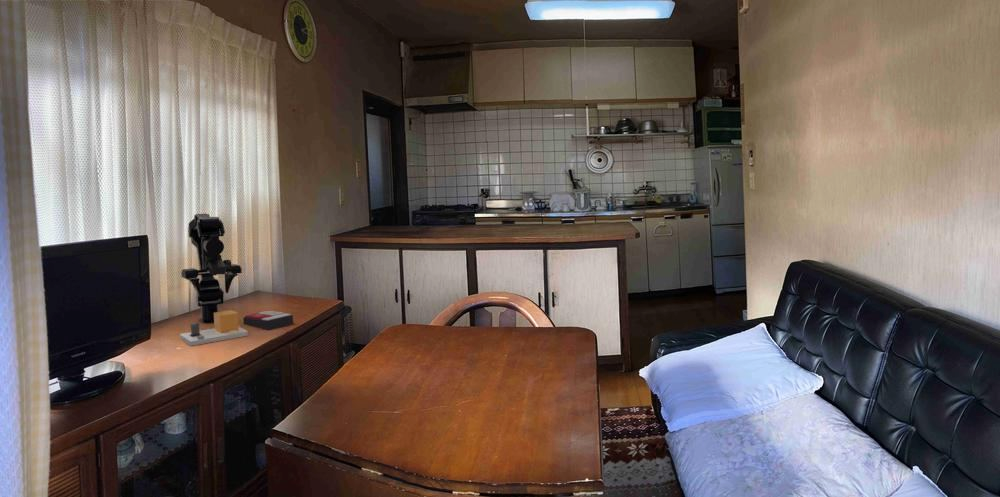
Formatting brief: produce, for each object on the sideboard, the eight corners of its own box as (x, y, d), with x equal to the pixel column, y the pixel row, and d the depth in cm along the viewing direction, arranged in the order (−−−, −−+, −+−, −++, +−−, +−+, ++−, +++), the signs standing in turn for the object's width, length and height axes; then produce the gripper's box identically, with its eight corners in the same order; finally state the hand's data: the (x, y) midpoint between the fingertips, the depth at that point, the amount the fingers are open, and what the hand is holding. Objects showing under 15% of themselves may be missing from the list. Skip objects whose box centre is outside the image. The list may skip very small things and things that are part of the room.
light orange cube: (214, 329, 200) (213, 312, 200) (232, 326, 204) (231, 310, 204) (220, 333, 196) (219, 315, 195) (238, 329, 200) (237, 313, 199)
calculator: (268, 309, 223) (293, 312, 214) (269, 320, 223) (294, 324, 215) (242, 315, 214) (266, 318, 205) (243, 326, 214) (267, 330, 206)
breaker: (190, 335, 193) (189, 323, 193) (198, 333, 195) (197, 322, 195) (192, 336, 192) (191, 324, 191) (200, 335, 193) (200, 323, 193)
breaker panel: (180, 338, 195) (179, 332, 194) (235, 328, 207) (234, 323, 207) (190, 346, 186) (190, 339, 186) (247, 335, 198) (247, 329, 198)
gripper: (189, 256, 193) (192, 302, 195) (246, 251, 206) (248, 294, 208) (179, 253, 201) (182, 297, 203) (235, 249, 214) (237, 290, 216)
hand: (213, 294), depth 207 cm, fingers open, 9 cm apart
